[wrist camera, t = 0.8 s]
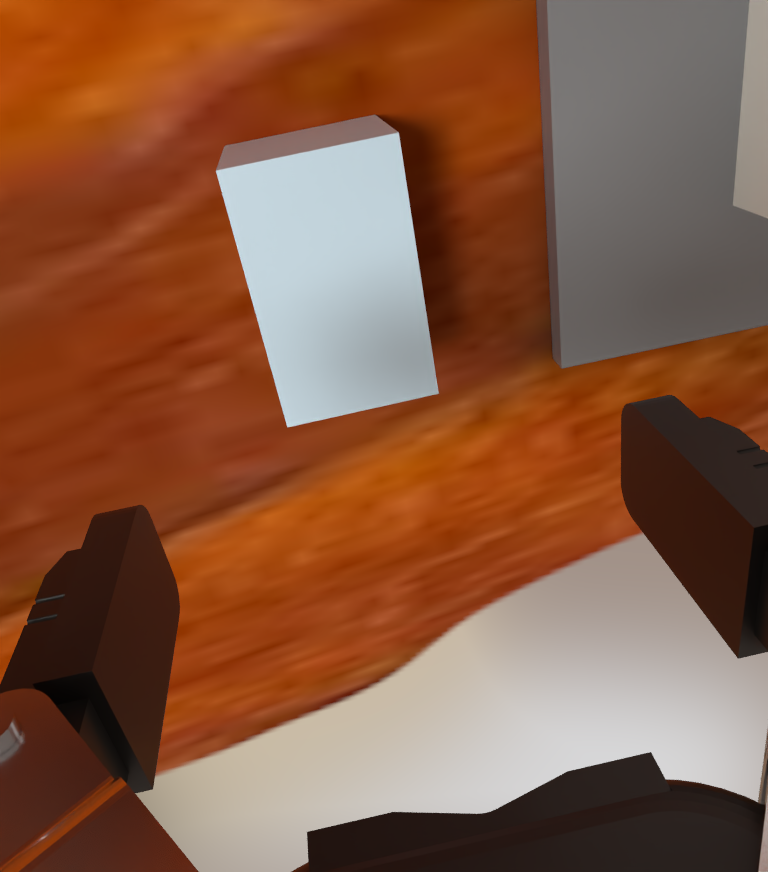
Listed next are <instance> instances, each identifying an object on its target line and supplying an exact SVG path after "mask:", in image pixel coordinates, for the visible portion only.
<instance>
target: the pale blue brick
mask: <svg viewBox="0 0 768 872" xmlns="http://www.w3.org/2000/svg"><path fill="white" fill-rule="evenodd" d="M216 173H217V176H218V180H219V184H220V187H221V191H222V194H223V198H224V202H225V205H226V209H227V212H228V216H229V219H230V223H231V227H232V230H233V234H234V237H235V241H236V245H237V248H238V252H239V255H240V259H241V263H242V266H243V270H244V273H245V277H246V280H247V284H248V288H249V291H250V295H251V298H252V302H253V306H254V309H255V313H256V316H257V320H258V324H259V327H260V331H261V334H262V338H263V341H264V345H265V349H266V352H267V356H268V359H269V363H270V367H271V370H272V374H273V377H274V381H275V385H276V388H277V392H278V395H279V399H280V402H281V406H282V410H283V413H284V417H285V420H286V424H287V427H291V426H296V425H300V424H305V423H309V422H314V421H318V420H323V419H327V418H332V417H336V416H341V415H345V414H350V413H354V412H358V411H363V410H367V409H372V408H376V407H381V406H385V405H390V404H394V403H399V402H403V401H408V400H412V399H417V398H421V397H426V396H430V395H435V394H439V393H438V386H437V380H436V373H435V367H434V360H433V353H432V347H431V340H430V334H429V327H428V321H427V314H426V308H425V301H424V294H423V288H422V281H421V275H420V268H419V262H418V255H417V249H416V242H415V236H414V229H413V222H412V216H411V209H410V203H409V196H408V190H407V183H406V177H405V170H404V163H403V157H402V150H401V144H400V137H399V132H397V131H396V130H395V129H393V128H392V127H391V126H389V125H388V124H387V123H386V122H384V121H383V120H382V119H380V118H379V117H378V116H376V115H371V116H366V117H361V118H357V119H352V120H347V121H342V122H337V123H333V124H328V125H323V126H318V127H313V128H309V129H304V130H299V131H294V132H289V133H285V134H280V135H275V136H270V137H265V138H260V139H256V140H251V141H246V142H241V143H236V144H232V145H227V146H224V149H223V152H222V155H221V158H220V161H219V163H218V166H217V169H216Z"/></svg>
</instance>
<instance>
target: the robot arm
mask: <svg viewBox="0 0 768 872" xmlns="http://www.w3.org/2000/svg"><path fill="white" fill-rule="evenodd" d="M621 488H622V494H623V498H624V501H625V504H626V507H627V509H628V511H629V513H630V515H631V517H632V518H633V520H634V521H635V522H636V524H637V525H638V526H639V528H640V529H641V530H642V532H643V533H644V534H645V536H646V537H647V538H648V540H649V541H650V542H651V544H652V545H653V546H654V548H655V549H656V550H657V552H658V553H659V554H660V555H661V557H662V558H663V560H664V561H665V562H666V564H667V565H668V566H669V567H670V569H671V570H672V572H673V573H674V574H675V576H676V577H677V578H678V579H679V581H680V582H681V583H682V585H683V586H684V587H685V589H686V590H687V591H688V593H689V594H690V595H691V597H692V598H693V599H694V601H695V602H696V603H697V605H698V606H699V607H700V609H701V610H702V611H703V613H704V614H705V615H706V617H707V618H708V619H709V621H710V622H711V623H712V625H713V626H714V627H715V628H716V630H717V631H718V633H719V634H720V635H721V637H722V638H723V639H724V641H725V642H726V643H727V645H728V646H729V647H730V648H731V650H732V651H733V652H734V654H735V655H736V656H737V658H742V657H747V656H751V655H756V654H760V653H764V652H768V453H767V452H766V451H765V450H760V446H759V445H758V444H756V443H755V442H754V441H753V440H752V439H750V438H749V437H748V436H747V435H746V434H744V433H743V432H742V431H741V430H740V429H738V428H735V427H733V426H730V425H728V424H726V423H723V422H721V421H718V420H716V419H713V418H711V417H706V418H701V419H700V418H699V417H698V416H696V415H695V414H694V413H693V412H692V411H691V410H690V409H689V408H687V407H686V406H685V405H684V404H683V403H682V402H681V401H680V400H678V399H677V398H676V397H675V396H672V395H667V396H662V397H658V398H653V399H648V400H643V401H638V402H634V403H629V404H626V405H625V406H624V408H623V411H622V417H621ZM35 601H36V604H35V605H33V606H32V609H31V611H30V614H29V616H28V619H27V623H28V624H27V625H25V626H24V628H23V631H22V633H21V636H20V638H19V640H18V643H17V645H16V648H15V650H14V653H13V655H12V657H11V660H10V662H9V665H8V667H7V670H6V672H5V674H4V677H3V679H2V682H1V684H0V872H198V870H197V869H196V868H195V867H194V866H193V864H192V863H191V862H190V861H189V860H188V858H187V857H186V856H185V854H184V853H183V852H182V851H181V850H180V848H178V846H177V845H176V843H175V842H174V841H173V840H172V838H171V837H170V836H169V835H168V834H167V833H166V831H165V830H164V829H163V827H162V826H161V825H160V824H159V822H158V821H157V820H156V819H155V818H154V816H153V815H152V814H151V813H150V811H149V810H148V809H147V808H146V806H145V805H144V804H143V803H142V802H141V800H140V799H139V798H138V797H137V795H136V794H135V793H138V792H143V791H147V790H152V789H153V785H154V779H155V772H156V765H157V759H158V752H159V746H160V739H161V733H162V726H163V719H164V713H165V706H166V700H167V693H168V687H169V680H170V673H171V667H172V660H173V654H174V647H175V641H176V634H177V627H178V621H179V613H180V603H179V594H178V588H177V584H176V580H175V577H174V574H173V572H172V569H171V567H170V564H169V562H168V559H167V557H166V554H165V552H164V549H163V547H162V544H161V542H160V539H159V537H158V534H157V532H156V529H155V526H154V524H153V521H152V519H151V517H150V514H149V512H148V511H147V509H146V508H145V507H144V506H143V505H138V506H133V507H128V508H124V509H119V510H114V511H109V512H105V513H100V514H96V515H94V517H93V518H92V520H91V523H90V526H89V529H88V531H87V534H86V537H85V540H84V542H83V545H82V548H81V549H77V550H72V551H68V552H66V553H65V554H64V555H63V557H62V558H61V559H60V560H59V561H58V562H57V563H56V564H55V565H54V566H53V568H52V569H51V570H50V571H49V572H48V573H47V574H46V575H45V577H44V580H43V582H42V585H41V587H40V589H39V592H38V594H37V597H36V599H35ZM307 837H308V838H307V839H308V859H309V862H308V863H306V864H304V865H303V866H301V867H299V868H297V869H296V870H294V871H292V872H768V730H767V738H766V745H765V753H764V761H763V769H762V777H761V784H760V791H759V798H758V802H756V801H754V800H751V799H749V798H747V797H745V796H742V795H739V794H737V793H734V792H731V791H728V790H725V789H722V788H718V787H714V786H710V785H706V784H701V783H696V782H689V781H681V780H665V778H664V776H663V774H662V772H661V770H660V768H659V766H658V765H657V763H656V761H655V759H654V757H653V756H652V753H651V752H650V753H646V754H641V755H637V756H633V757H628V758H624V759H620V760H615V761H611V762H607V763H602V764H598V765H594V766H590V767H585V768H581V769H576V770H572V771H568V772H566V773H564V774H562V775H560V776H559V777H556V778H555V779H553V780H551V781H549V782H547V783H545V784H543V785H541V786H539V787H538V788H536V789H534V790H532V791H530V792H528V793H526V794H524V795H522V796H521V797H519V798H517V799H515V800H513V801H511V802H509V803H507V804H505V805H503V806H502V807H500V808H498V809H496V810H493V811H491V812H488V813H483V814H459V813H458V814H457V813H456V814H455V813H411V812H410V813H409V812H391V813H387V814H383V815H378V816H374V817H370V818H366V819H361V820H357V821H352V822H348V823H344V824H340V825H336V826H331V827H327V828H322V829H318V830H314V831H310V832H307Z"/></svg>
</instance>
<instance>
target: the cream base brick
mask: <svg viewBox="0 0 768 872" xmlns="http://www.w3.org/2000/svg"><path fill="white" fill-rule="evenodd" d="M733 206H736V207H738V208H741V209H744V210H747V211H749V212H752V213H755V214H757V215H760V216H763V217H765V218H768V0H749V12H748V25H747V37H746V49H745V62H744V74H743V86H742V98H741V111H740V123H739V135H738V148H737V160H736V172H735V185H734V197H733Z"/></svg>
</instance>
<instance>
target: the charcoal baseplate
mask: <svg viewBox="0 0 768 872" xmlns="http://www.w3.org/2000/svg"><path fill="white" fill-rule="evenodd" d="M536 7H537V29H538V50H539V72H540V93H541V115H542V137H543V158H544V180H545V201H546V223H547V244H548V266H549V287H550V309H551V330H552V352H553V359H554V360H555V362H556V363H557V364H558V365H559V366H560V367H561V368H567V367H571V366H576V365H581V364H585V363H590V362H595V361H600V360H604V359H609V358H614V357H619V356H623V355H628V354H633V353H638V352H642V351H647V350H652V349H657V348H661V347H666V346H671V345H676V344H680V343H685V342H690V341H694V340H699V339H704V338H709V337H713V336H718V335H723V334H728V333H732V332H737V331H742V330H747V329H751V328H756V327H761V326H766V325H768V218H765V217H763V216H760V215H757V214H755V213H752V212H749V211H747V210H744V209H741V208H738V207H736V206H733V197H734V185H735V172H736V160H737V148H738V135H739V123H740V111H741V98H742V86H743V74H744V62H745V49H746V37H747V25H748V12H749V0H536Z"/></svg>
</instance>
